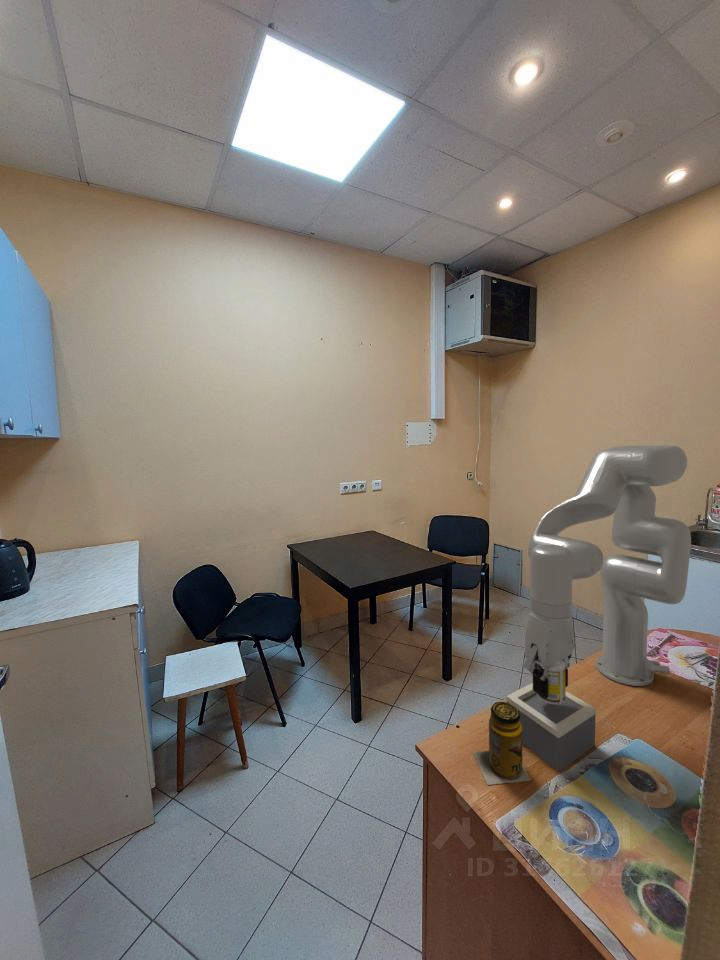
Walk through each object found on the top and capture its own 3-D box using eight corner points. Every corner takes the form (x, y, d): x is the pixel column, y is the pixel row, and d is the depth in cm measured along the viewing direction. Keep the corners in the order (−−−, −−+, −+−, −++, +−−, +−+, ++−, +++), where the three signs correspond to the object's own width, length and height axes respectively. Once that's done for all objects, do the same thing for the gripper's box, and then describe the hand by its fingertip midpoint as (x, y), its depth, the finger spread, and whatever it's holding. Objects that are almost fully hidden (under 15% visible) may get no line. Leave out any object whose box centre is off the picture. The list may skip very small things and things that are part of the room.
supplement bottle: (551, 685, 83) (552, 641, 82) (571, 702, 77) (572, 655, 76) (529, 691, 81) (529, 646, 80) (548, 708, 76) (548, 660, 75)
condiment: (531, 780, 71) (531, 721, 70) (487, 785, 70) (486, 726, 69) (512, 749, 78) (512, 695, 77) (472, 753, 77) (471, 699, 76)
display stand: (542, 710, 88) (542, 677, 88) (594, 745, 78) (595, 708, 77) (506, 731, 83) (506, 696, 82) (558, 772, 72) (558, 732, 71)
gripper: (559, 590, 85) (559, 666, 87) (506, 610, 76) (507, 693, 78) (593, 602, 78) (592, 684, 80) (539, 625, 70) (539, 715, 72)
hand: (550, 687), depth 79 cm, fingers closed on supplement bottle, 5 cm apart
